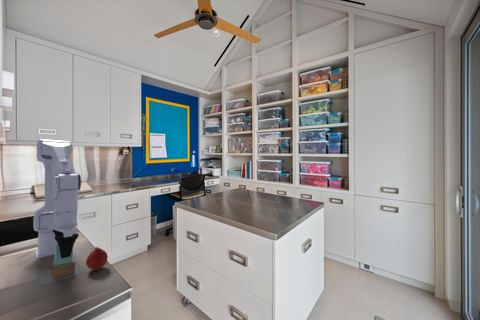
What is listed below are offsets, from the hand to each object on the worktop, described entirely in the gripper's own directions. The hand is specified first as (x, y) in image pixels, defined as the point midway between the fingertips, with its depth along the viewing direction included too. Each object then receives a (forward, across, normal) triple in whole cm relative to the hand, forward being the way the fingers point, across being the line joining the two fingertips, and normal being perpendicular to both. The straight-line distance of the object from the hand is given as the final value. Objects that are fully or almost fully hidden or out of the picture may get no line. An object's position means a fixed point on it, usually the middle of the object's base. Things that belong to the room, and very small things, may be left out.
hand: (64, 253), depth 66 cm
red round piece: (+7, +5, +8) cm, 12 cm away
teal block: (+3, 0, 0) cm, 3 cm away
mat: (+6, 0, 0) cm, 7 cm away
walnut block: (+6, 0, 0) cm, 6 cm away
